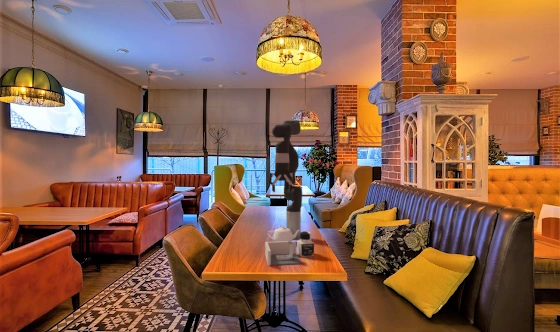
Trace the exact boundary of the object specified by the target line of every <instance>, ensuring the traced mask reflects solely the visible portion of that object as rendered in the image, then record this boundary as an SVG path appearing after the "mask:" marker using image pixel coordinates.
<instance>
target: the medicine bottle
mask: <svg viewBox="0 0 560 332" xmlns="http://www.w3.org/2000/svg"><path fill="white" fill-rule="evenodd" d="M296 240H297V241H296V254H298V256H300V257H301V258H304V257H305V258H307V257H309V258H310V257H315V242H314V241H312V233H311V232H310V231H301V233H300V238H299V239H296Z"/></svg>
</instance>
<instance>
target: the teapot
mask: <svg viewBox="0 0 560 332" xmlns="http://www.w3.org/2000/svg"><path fill="white" fill-rule="evenodd" d="M299 231H300V230H297V231H296V233H295V234H294V235H292V232H291V230H290V229H288V228H286V227H285V225H281V226H280V227H279V228H278V227H277V228H276V229H275V230H268V231H267V233H266V235H267V237H269V239H271V240H273V242H281V241H294V240H295V239H294V238H295V237H296V236H297V233H298V232H299ZM270 233H272V234H273V235H272V236H271V235H270Z"/></svg>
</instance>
